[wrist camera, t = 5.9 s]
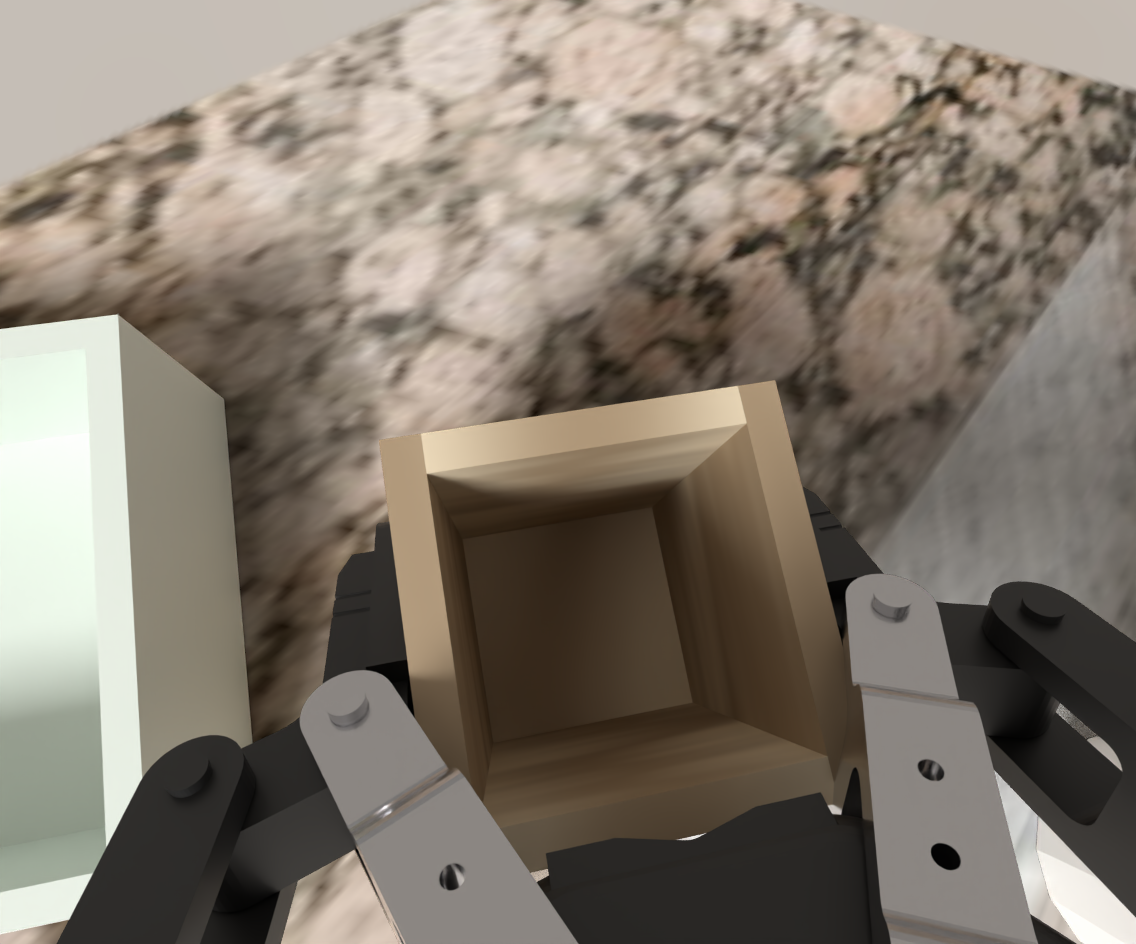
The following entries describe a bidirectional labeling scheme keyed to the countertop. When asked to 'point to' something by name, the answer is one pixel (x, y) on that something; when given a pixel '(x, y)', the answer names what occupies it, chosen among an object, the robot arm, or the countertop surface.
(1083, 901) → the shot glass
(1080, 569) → the countertop surface
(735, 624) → the birch crate
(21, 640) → the sage crate
